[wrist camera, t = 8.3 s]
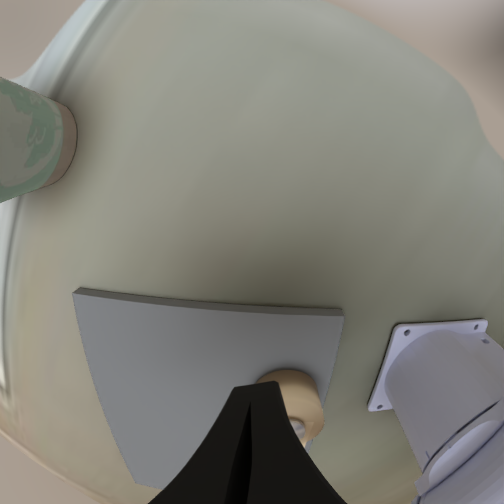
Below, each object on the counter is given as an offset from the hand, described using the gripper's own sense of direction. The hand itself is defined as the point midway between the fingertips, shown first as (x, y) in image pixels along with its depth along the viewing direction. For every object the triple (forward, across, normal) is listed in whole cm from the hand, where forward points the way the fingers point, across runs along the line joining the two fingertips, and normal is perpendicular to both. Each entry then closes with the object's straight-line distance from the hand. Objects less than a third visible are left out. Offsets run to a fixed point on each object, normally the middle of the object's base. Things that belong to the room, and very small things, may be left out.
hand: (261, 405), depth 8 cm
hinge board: (+9, +8, +12) cm, 17 cm away
